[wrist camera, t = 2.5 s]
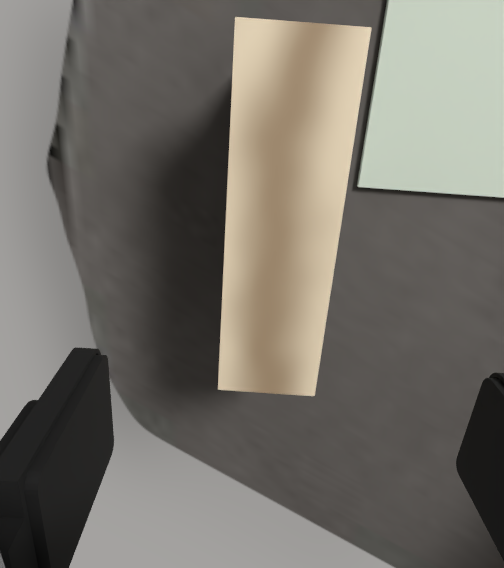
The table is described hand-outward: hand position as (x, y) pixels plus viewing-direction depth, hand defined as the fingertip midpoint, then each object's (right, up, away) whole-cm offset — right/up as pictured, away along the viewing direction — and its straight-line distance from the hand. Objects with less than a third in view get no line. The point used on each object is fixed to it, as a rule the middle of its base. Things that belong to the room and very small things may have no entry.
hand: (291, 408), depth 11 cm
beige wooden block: (+1, +7, +15) cm, 17 cm away
